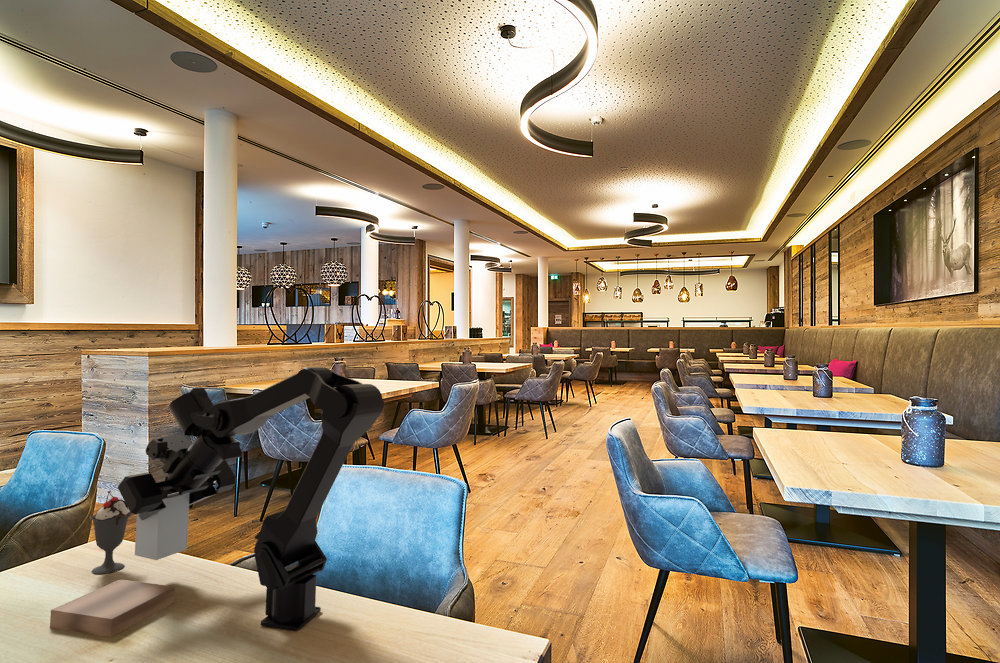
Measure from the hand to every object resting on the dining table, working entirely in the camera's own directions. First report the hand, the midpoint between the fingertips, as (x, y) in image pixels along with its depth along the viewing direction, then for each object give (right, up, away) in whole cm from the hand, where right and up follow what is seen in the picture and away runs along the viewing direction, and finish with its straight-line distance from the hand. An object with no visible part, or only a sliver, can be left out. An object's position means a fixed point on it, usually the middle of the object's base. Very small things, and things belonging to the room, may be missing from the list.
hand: (157, 513), depth 93 cm
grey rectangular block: (+1, -7, -1) cm, 7 cm away
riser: (+2, -12, -13) cm, 17 cm away
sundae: (-12, -12, +4) cm, 18 cm away
